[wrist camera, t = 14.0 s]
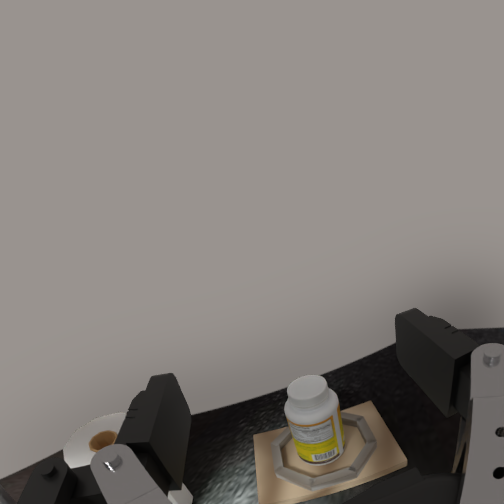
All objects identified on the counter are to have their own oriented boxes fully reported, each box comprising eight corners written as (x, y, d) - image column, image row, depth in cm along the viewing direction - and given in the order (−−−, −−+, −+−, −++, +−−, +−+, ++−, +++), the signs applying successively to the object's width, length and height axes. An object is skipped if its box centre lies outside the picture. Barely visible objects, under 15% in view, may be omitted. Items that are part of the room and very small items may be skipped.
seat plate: (261, 509, 25) (256, 499, 24) (255, 440, 36) (250, 428, 36) (406, 465, 25) (407, 453, 24) (371, 406, 36) (370, 393, 36)
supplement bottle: (318, 428, 34) (304, 364, 32) (355, 442, 30) (346, 376, 28) (288, 456, 31) (267, 393, 29) (324, 475, 26) (309, 411, 24)
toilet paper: (147, 469, 33) (105, 404, 31) (209, 490, 29) (167, 422, 27) (103, 515, 25) (47, 451, 22) (163, 550, 20) (101, 489, 18)
